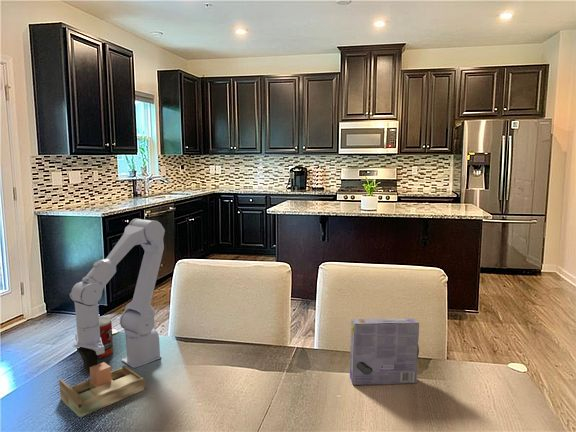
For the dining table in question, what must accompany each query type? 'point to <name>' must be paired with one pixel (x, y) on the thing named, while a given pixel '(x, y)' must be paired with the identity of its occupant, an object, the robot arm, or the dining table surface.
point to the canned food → (106, 335)
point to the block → (100, 374)
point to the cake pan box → (384, 351)
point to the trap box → (101, 391)
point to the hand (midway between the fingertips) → (91, 370)
